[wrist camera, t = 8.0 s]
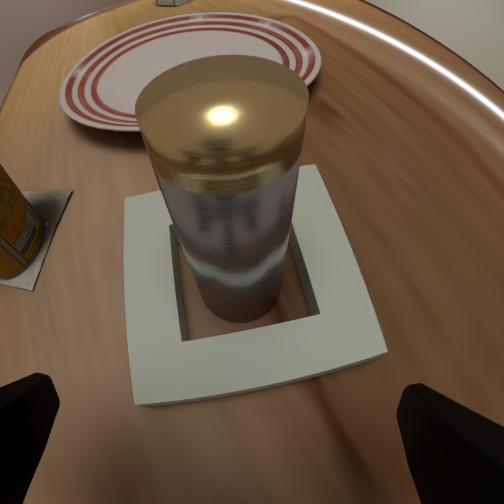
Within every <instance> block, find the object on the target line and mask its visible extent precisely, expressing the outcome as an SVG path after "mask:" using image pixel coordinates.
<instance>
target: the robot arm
mask: <svg viewBox="0 0 504 504" xmlns="http://www.w3.org/2000/svg"><path fill="white" fill-rule="evenodd" d="M59 405H60V401H59V397H58V394H57V392H56V389H55V387H54V384H53V381H52V379H51V377H50V376H48V375H46V374H42V373H34V374H32V375H29V376H27V377H24V378H22V379H20V380H17V381H15V382H12V383H10V384H7V385H5V386H3V387H0V504H23V501H24V499H25V496H26V494H27V491H28V489H29V486H30V483H31V481H32V479H33V476H34V474H35V471H36V469H37V467H38V464H39V462H40V460H41V457H42V455H43V452H44V450H45V447H46V444H47V441H48V438H49V435H50V432H51V429H52V426H53V423H54V420H55V417H56V415H57V412H58V409H59ZM397 420H398V424H399V428H400V432H401V436H402V441H403V445H404V449H405V453H406V458H407V462H408V466H409V469H410V472H411V475H412V478H413V481H414V484H415V486H416V489H417V492H418V495H419V498H420V501H421V504H504V427H503V426H501V425H499V424H497V423H495V422H493V421H491V420H490V419H488V418H486V417H484V416H482V415H480V414H478V413H476V412H474V411H472V410H470V409H468V408H467V407H465V406H463V405H461V404H459V403H457V402H455V401H453V400H451V399H450V398H448V397H446V396H444V395H442V394H440V393H438V392H437V391H435V390H433V389H431V388H429V387H427V386H425V385H424V384H421V383H417V384H411V385H407V386H406V387H405V388H404V390H403V393H402V396H401V399H400V403H399V406H398V409H397Z"/></svg>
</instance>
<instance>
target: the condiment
mask: <svg viewBox="0 0 504 504" xmlns="http://www.w3.org/2000/svg"><path fill="white" fill-rule="evenodd" d="M71 191H72V189H65V190H51V191H38V192H36V191H26V192H23V191H20V190H19V189H18V187H17V186H16V185H15V184H14V182H13V181H12V179H11V178H10V177H9V175H8V174H7V173H6V171H5V170H4V168H3V167H2V166H1V164H0V284H3V285H8V286H12V287H16V288H17V287H18V288H22V289H26V290H31V291H32V290H33V287H34V284H35V281H36V279H37V276H38V273H39V271H40V268H41V265H42V261H43V259H44V258H45V255H46V252H47V250H48V246H49V244H50V241H51V238H52V236H53V233H54V229H55V226H56V224H57V223H58V221H59V218H60V216H61V214H62V212H63V210H64V207H65V205H66V202H67V199H68V197H69V195H70V193H71ZM46 223H48V225H46Z"/></svg>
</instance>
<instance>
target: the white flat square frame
mask: <svg viewBox="0 0 504 504" xmlns="http://www.w3.org/2000/svg"><path fill="white" fill-rule="evenodd" d="M288 241H289V244H290V247H291V251H292V254H293V257H294V260H295V264H296V267H297V270H298V274H299V277H300V280H301V284H302V287H303V290H304V294H305V297H306V301H307V304H308V308H309V311H310V315H311V316H310V317H305V318H301V319H297V320H292V321H288V322H283V323H279V324H274V325H270V326H265V327H260V328H255V329H250V330H245V331H240V332H235V333H230V334H224V335H219V336H213V337H208V338H202V339H196V340H190V341H189V340H188V333H187V326H186V319H185V312H184V304H183V297H182V289H181V280H180V272H179V263H178V253H177V243H180V241H179V238H178V235H177V233H176V230H175V228H174V225H173V222H172V220H171V217H170V214H169V212H168V209H167V206H166V204H165V201H164V198H163V195H162V193H161V190H159V191H154V192H150V193H145V194H141V195H136V196H132V197H128V198H125V209H124V291H125V313H126V328H127V341H128V353H129V363H130V372H131V380H132V388H133V396H134V403H135V405H138V406H145V407H153V406H162V405H171V404H179V403H187V402H194V401H201V400H208V399H214V398H220V397H226V396H232V395H237V394H243V393H248V392H253V391H258V390H263V389H267V388H272V387H276V386H281V385H285V384H289V383H293V382H298V381H302V380H306V379H309V378H313V377H317V376H321V375H324V374H328V373H332V372H335V371H339V370H342V369H345V368H349V367H352V366H355V365H358V364H362V363H365V362H368V361H371V360H374V359H376V358H377V357H379V356H381V355H383V354H385V353H386V352H388V351H387V348H386V344H385V341H384V338H383V335H382V332H381V329H380V326H379V323H378V320H377V317H376V314H375V311H374V308H373V305H372V302H371V300H370V297H369V294H368V291H367V288H366V286H365V283H364V280H363V277H362V275H361V272H360V269H359V267H358V264H357V262H356V259H355V256H354V254H353V251H352V249H351V246H350V244H349V241H348V239H347V236H346V234H345V231H344V229H343V227H342V224H341V222H340V219H339V217H338V215H337V212H336V210H335V208H334V205H333V203H332V201H331V198H330V196H329V194H328V192H327V189H326V187H325V185H324V183H323V180H322V178H321V176H320V174H319V172H318V170H317V167H316V165H315V164H314V165H306V166H300V168H299V175H298V182H297V188H296V195H295V202H294V208H293V215H292V221H291V227H290V234H289V240H288Z"/></svg>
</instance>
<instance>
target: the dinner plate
mask: <svg viewBox="0 0 504 504" xmlns="http://www.w3.org/2000/svg"><path fill="white" fill-rule="evenodd" d="M216 55H249V56H256V57H261V58H265V59H269V60H272V61H275V62H278V63H280V64H283V65H285V66H286V67H288V68H290V69H292V70H293V71H294V72H296V73H297V74H298V75H299V76H300V77H301V78H302V79H303V81H304V82H305V83H306V86H308V85H309V84H310V83H311V82H312V81H313V80H314V79H315V78H316V76H317V75H318V73H319V71H320V67H321V55H320V52H319V50H318V48H317V46H316V45H315V44H314V43H313V42H312V41H311V40H310V39H309V38H308V37H307V36H306V35H304V34H303V33H302V32H300V31H298V30H297V29H295V28H293V27H291V26H289V25H287V24H284V23H282V22H279V21H276V20H273V19H269V18H265V17H261V16H255V15H249V14H242V13H229V12H210V13H195V14H186V15H179V16H173V17H168V18H164V19H160V20H156V21H152V22H148V23H145V24H142V25H139V26H136V27H134V28H131V29H129V30H127V31H124V32H122V33H120V34H118V35H116V36H114V37H112V38H110V39H108V40H107V41H105V42H103V43H102V44H100V45H99V46H97V47H96V48H94V49H93V50H92V51H90V52H89V53H88V54H86V55H85V56H84V57H83V58H82V59H81V60H80V61H79V62H78V63H77V64H76V65H75V66H74V67H73V68H72V69H71V71H70V72H69V73H68V75H67V76H66V78H65V80H64V82H63V84H62V87H61V90H60V95H59V98H60V104H61V107H62V109H63V110H64V112H65V113H66V114H67V115H68V116H69V117H70V118H72V119H73V120H75V121H77V122H79V123H81V124H83V125H86V126H90V127H94V128H98V129H106V130H113V131H140V128H139V125H138V122H137V119H136V116H135V104H136V101H137V98H138V96H139V94H140V93H141V91H142V90H143V89H144V87H145V86H146V85H147V84H148V83H149V82H150V81H152V80H153V79H154V78H155V77H157V76H158V75H160V74H161V73H163V72H165V71H166V70H168V69H170V68H172V67H175V66H177V65H179V64H182V63H185V62H188V61H191V60H194V59H199V58H203V57H209V56H216Z"/></svg>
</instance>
